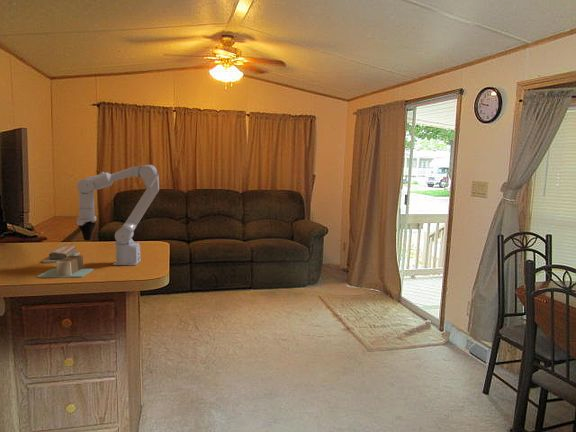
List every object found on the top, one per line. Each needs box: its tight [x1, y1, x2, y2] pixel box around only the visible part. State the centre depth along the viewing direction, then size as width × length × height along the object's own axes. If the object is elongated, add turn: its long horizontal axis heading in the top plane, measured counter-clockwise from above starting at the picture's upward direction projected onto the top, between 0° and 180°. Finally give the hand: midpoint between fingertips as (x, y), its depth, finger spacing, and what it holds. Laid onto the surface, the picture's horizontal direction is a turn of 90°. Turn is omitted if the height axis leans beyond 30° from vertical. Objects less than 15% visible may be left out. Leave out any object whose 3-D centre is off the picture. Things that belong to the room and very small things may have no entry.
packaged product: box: [42, 245, 81, 264], centre depth 181 cm, size 18×5×10 cm
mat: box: [36, 268, 94, 279], centre depth 156 cm, size 16×11×1 cm
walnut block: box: [55, 255, 84, 275], centre depth 157 cm, size 5×5×11 cm
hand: (87, 240), depth 169 cm, fingers closed
